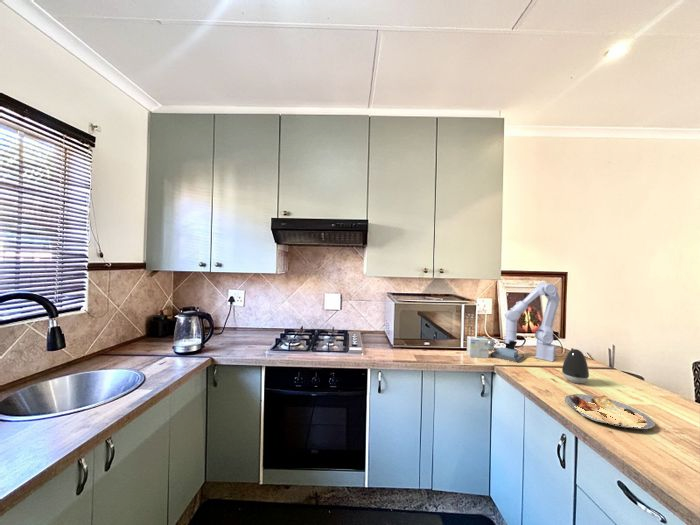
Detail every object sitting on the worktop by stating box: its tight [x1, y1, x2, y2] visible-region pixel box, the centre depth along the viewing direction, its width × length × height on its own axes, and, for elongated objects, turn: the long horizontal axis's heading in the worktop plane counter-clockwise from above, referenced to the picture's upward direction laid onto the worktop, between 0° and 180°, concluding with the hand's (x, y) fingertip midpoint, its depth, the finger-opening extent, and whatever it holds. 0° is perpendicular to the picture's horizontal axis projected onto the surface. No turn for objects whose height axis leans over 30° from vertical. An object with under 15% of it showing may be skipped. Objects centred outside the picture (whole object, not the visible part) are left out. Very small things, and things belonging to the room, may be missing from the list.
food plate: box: [564, 393, 655, 430], centre depth 113 cm, size 25×23×4 cm
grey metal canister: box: [488, 338, 496, 351], centre depth 195 cm, size 5×5×6 cm
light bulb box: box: [466, 335, 490, 359], centre depth 180 cm, size 11×7×11 cm, turn 86°
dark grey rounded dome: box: [561, 347, 590, 384], centre depth 145 cm, size 10×10×15 cm
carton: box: [496, 346, 519, 358], centre depth 180 cm, size 9×8×4 cm
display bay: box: [490, 348, 525, 364], centre depth 180 cm, size 14×13×2 cm
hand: (510, 353), depth 184 cm, fingers closed
